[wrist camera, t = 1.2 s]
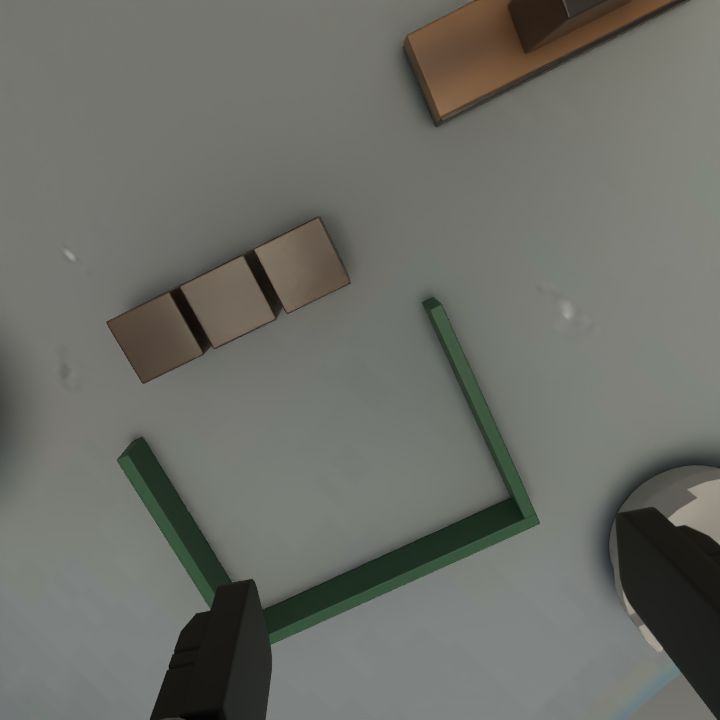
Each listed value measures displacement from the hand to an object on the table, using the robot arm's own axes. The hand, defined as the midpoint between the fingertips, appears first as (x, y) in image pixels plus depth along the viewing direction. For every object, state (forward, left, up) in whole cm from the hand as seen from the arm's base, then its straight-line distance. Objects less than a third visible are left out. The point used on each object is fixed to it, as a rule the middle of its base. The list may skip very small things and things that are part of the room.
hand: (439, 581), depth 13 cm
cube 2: (-6, -6, -26) cm, 28 cm away
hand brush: (-12, +17, -26) cm, 34 cm away
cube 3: (-6, -1, -26) cm, 27 cm away
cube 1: (-6, -11, -26) cm, 29 cm away
